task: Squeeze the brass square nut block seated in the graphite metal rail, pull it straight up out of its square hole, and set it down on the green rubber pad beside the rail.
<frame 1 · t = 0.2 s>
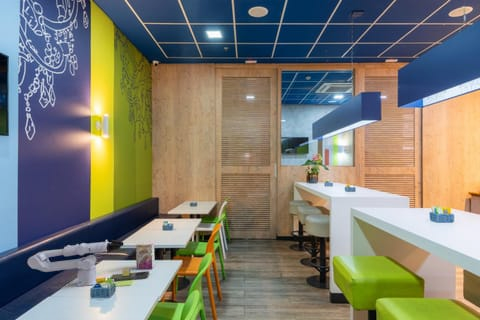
hand: (121, 245, 183), 21 cm above the table, tool horizontal, fingers open, 7 cm apart
green rubber pad: (123, 283, 177), on the table
graphite rail: (130, 278, 186), on the table
brass nut block: (126, 278, 185), resting in graphite rail
candy bar box: (145, 268, 203), on the table
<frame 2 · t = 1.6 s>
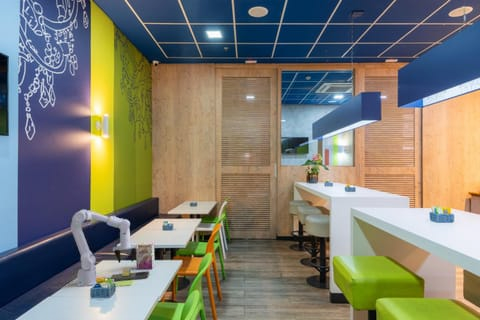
hand: (126, 261, 185), 10 cm above the table, tool pointing down, fingers open, 7 cm apart
nothing on the table moved.
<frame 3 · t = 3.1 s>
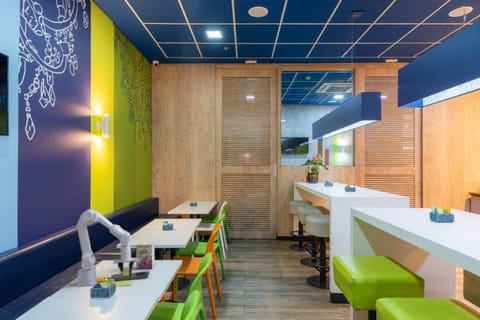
hand: (126, 274, 185), 3 cm above the table, tool pointing down, fingers closed on brass nut block, 4 cm apart
brass nut block: (126, 278, 185), resting in graphite rail, touching gripper
everything else where it was.
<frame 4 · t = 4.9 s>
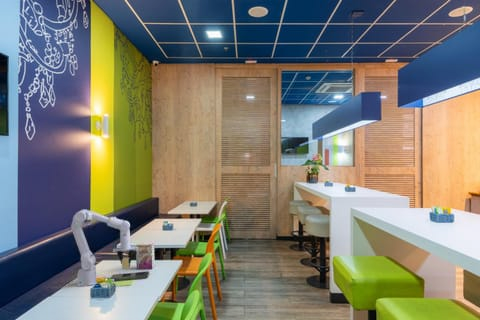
hand: (126, 262, 185), 10 cm above the table, tool pointing down, fingers closed on brass nut block, 4 cm apart
brass nut block: (126, 267, 185), point 7 cm above the table, touching gripper
everything else where it was.
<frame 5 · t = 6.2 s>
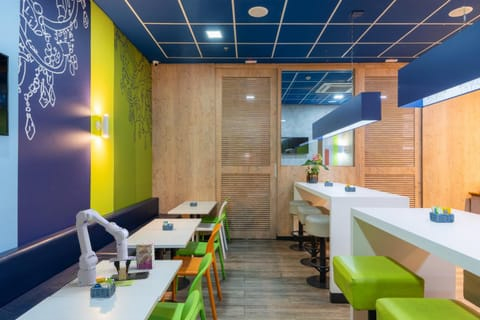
hand: (123, 273, 177), 6 cm above the table, tool pointing down, fingers closed on brass nut block, 4 cm apart
brass nut block: (123, 278, 177), point 3 cm above the table, touching gripper
everything else where it was.
when the fingers open (4 cm above the table, at t = 6.9 s): brass nut block stays where it is, resting on green rubber pad.
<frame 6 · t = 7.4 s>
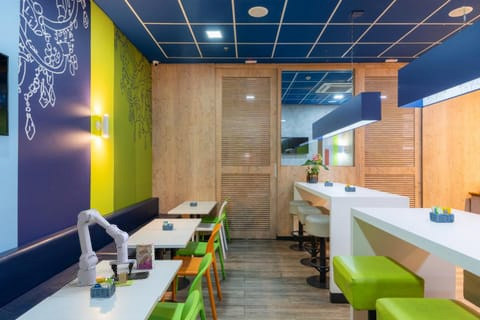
hand: (123, 276, 177), 4 cm above the table, tool pointing down, fingers open, 7 cm apart
brass nut block: (123, 282, 177), resting on green rubber pad
everything else where it was.
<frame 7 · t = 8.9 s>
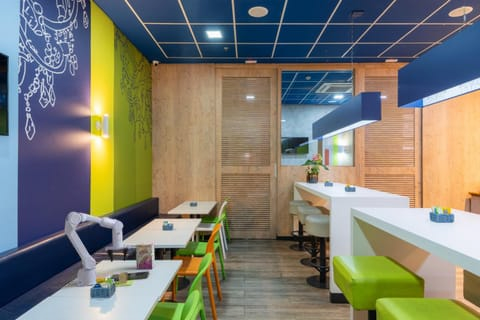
hand: (118, 260, 190), 9 cm above the table, tool pointing down, fingers open, 7 cm apart
nothing on the table moved.
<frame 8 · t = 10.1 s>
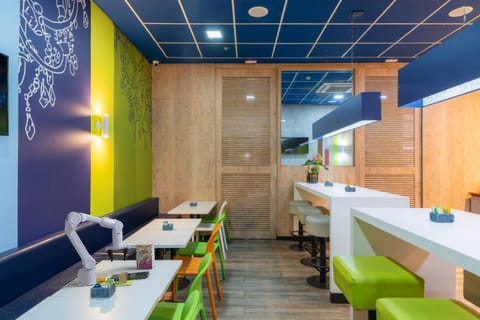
hand: (118, 260, 190), 9 cm above the table, tool pointing down, fingers open, 7 cm apart
nothing on the table moved.
at the end: brass nut block 0.3 cm off-centre on the green rubber pad, point 0.5 cm above the green rubber pad's base; brass nut block tilted 0°; the gripper is holding nothing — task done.
